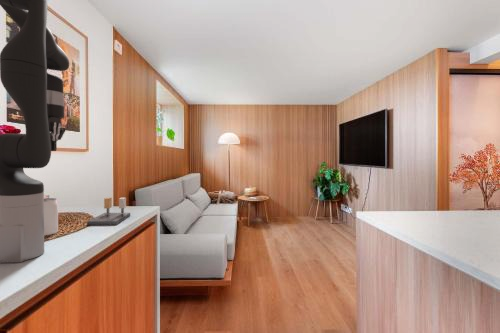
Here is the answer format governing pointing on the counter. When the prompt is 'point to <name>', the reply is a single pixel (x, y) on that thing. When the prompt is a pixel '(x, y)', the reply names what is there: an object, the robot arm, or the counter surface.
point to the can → (50, 216)
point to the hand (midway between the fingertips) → (52, 150)
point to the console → (108, 219)
